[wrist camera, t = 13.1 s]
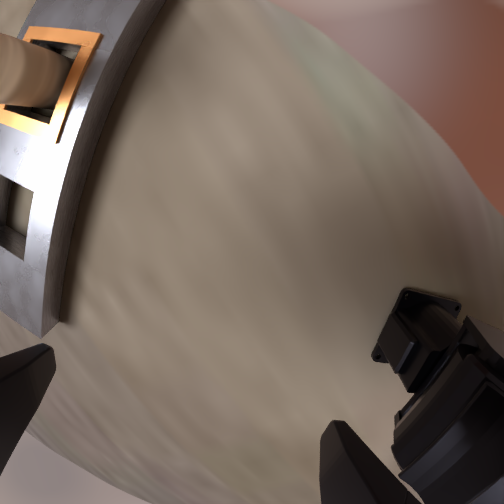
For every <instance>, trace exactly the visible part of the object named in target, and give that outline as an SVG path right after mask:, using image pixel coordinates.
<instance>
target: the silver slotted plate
mask: <svg viewBox="0 0 504 504" xmlns="http://www.w3.org/2000/svg"><path fill="white" fill-rule="evenodd" d="M165 1H166V0H36V2H35V4H34V6H33V7H32V9H31V11H30V13H29V15H28V17H27V18H26V20H25V22H24V24H23V26H22V28H21V30H20V32H19V34H18V36H17V38H18V39H21V40H24V41H26V42H29V43H32V44H35V45H37V46H40V47H43V48H45V49H48V50H51V51H53V52H54V51H55V49H62V50H68V51H74V52H78V54H77V56H76V59H75V61H74V63H73V65H72V67H71V70H70V72H69V74H68V77H67V79H66V81H65V84H64V86H63V89H62V91H61V94H60V96H59V99H58V102H57V104H56V107H55V110H54V113H53V116H52V118H49V117H46V116H43V115H40V114H37V113H34V112H31V108H32V107H27V106H17V105H6V104H0V310H1V311H2V312H3V313H5V314H6V315H7V316H9V317H10V318H12V319H13V320H14V321H16V322H17V323H18V324H20V325H21V326H23V327H24V328H26V329H27V330H29V331H30V332H32V333H33V334H35V335H36V336H38V337H39V338H42V337H43V336H44V335H46V334H47V333H48V332H49V331H50V330H51V329H52V328H53V327H54V326H55V325H56V324H57V323H58V322H59V313H60V304H61V295H62V288H63V281H64V274H65V268H66V262H67V256H68V251H69V246H70V241H71V236H72V231H73V227H74V222H75V218H76V214H77V210H78V206H79V202H80V198H81V194H82V191H83V187H84V184H85V180H86V177H87V173H88V170H89V167H90V164H91V161H92V157H93V154H94V151H95V148H96V146H97V143H98V140H99V137H100V134H101V132H102V129H103V126H104V123H105V121H106V118H107V116H108V113H109V111H110V108H111V106H112V103H113V101H114V99H115V96H116V94H117V92H118V89H119V87H120V85H121V83H122V80H123V78H124V76H125V74H126V72H127V70H128V68H129V66H130V64H131V62H132V60H133V58H134V56H135V54H136V52H137V50H138V48H139V46H140V44H141V42H142V40H143V38H144V37H145V35H146V33H147V31H148V29H149V28H150V26H151V24H152V22H153V21H154V19H155V17H156V16H157V14H158V12H159V11H160V9H161V8H162V6H163V4H164V3H165ZM12 181H14V182H16V183H18V184H20V185H22V186H24V187H26V188H28V189H30V190H32V191H34V196H33V201H32V206H31V212H30V218H29V224H28V231H27V238H26V237H24V236H23V235H21V234H19V233H18V232H16V231H15V230H13V229H11V228H10V227H8V226H7V225H6V217H7V210H8V203H9V197H10V191H11V186H12Z"/></svg>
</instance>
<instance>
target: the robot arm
mask: <svg viewBox="0 0 504 504" xmlns="http://www.w3.org/2000/svg"><path fill="white" fill-rule="evenodd" d="M407 293H408V296H407V297H405V295H406V294H407ZM456 306H457V307H456ZM455 307H456V308H455ZM460 310H461V303H459V302H458V301H456V300H452V299H448V298H444V297H440V296H436V295H433V294H429V293H425V292H421V291H417V290H413V289H409V288H405V289H403V290H402V291H401V293H400V295H399V297H398V299H397V302H396V304H395V306H394V308H393V311H392V313H391V314H390V315H389V317H388V319H387V322H386V324H385V326H384V328H383V330H382V332H381V334H380V336H379V338H378V340H377V341H378V342H377V344H376V346H375V348H374V350H373V352H372V354H371V357H372V359H373V361H375V362H382V363H389V364H390V365H391V367H392V369H393V371H394V373H395V374H398V375H399V377H400V379H401V381H402V383H403V385H404V386H405V388H406V390H407V392H408V393H414V395H413V396H412V398H411V399H410V400H409V401H408V403H407V404H406V405H405V406H404V407H403V408H402V410H399V411H398V412H397V414H396V415H395V416H394V419H395V429H394V444H393V445H392V446H391V450H392V453H393V456H394V458H395V460H396V462H397V464H398V466H399V467H400V469H401V470H402V472H400V473H399V474H398V476H399V478H400V479H402V480H403V481H405V482H406V483H407V484H409V485H410V486H411V487H412V488H413V489H414V490H415V491H416V492H417V493H418V494H419V496H420V497H421V498H422V500H423V502H424V503H425V504H504V332H502V331H501V330H499V329H497V328H495V327H493V326H490V325H488V324H486V323H484V322H482V321H479V320H477V319H475V318H473V317H471V316H468V315H467V316H466V318H465V319H464V321H463V325H462V324H461V323H460V322H459V321H457V320H456V318H457V316H458V314H459V312H460ZM378 354H379V356H377V355H378ZM55 371H56V362H55V355H54V350H53V348H52V347H51V346H48V345H46V344H44V343H40V344H37V345H35V346H32V347H29V348H26V349H23V350H20V351H18V352H15V353H12V354H9V355H6V356H3V357H0V475H1V473H2V471H3V469H4V467H5V466H6V464H7V462H8V460H9V458H10V456H11V454H12V452H13V451H14V449H15V447H16V445H17V443H18V441H19V440H20V438H21V436H22V434H23V433H24V431H25V429H26V427H27V426H28V424H29V422H30V421H31V419H32V417H33V416H34V414H35V412H36V411H37V409H38V407H39V405H40V403H41V401H42V399H43V397H44V395H45V392H46V390H47V388H48V386H49V384H50V382H51V380H52V378H53V376H54V374H55ZM319 481H320V493H321V504H421V503H420V502H419V501H418V500H417V499H416V498H415V497H414V496H413V495H412V494H411V493H410V491H407V488H406V487H405V486H404V485H403V484H402V483H401V482H400V481H399V480H398V479H397V478H396V477H395V476H394V475H393V474H392V473H391V471H390V470H389V469H388V468H387V467H386V466H385V465H384V464H383V463H382V462H381V461H380V460H379V458H378V457H377V456H376V455H375V454H374V453H373V452H372V451H371V450H370V449H369V447H368V446H367V445H366V444H365V443H364V442H363V441H362V440H361V439H360V437H359V436H358V435H357V434H356V433H355V432H354V431H353V430H352V429H351V427H350V426H349V425H348V424H347V423H346V422H345V421H341V420H332V421H331V422H330V423H329V425H328V427H327V428H326V430H325V431H324V433H323V434H322V436H321V440H320V473H319Z"/></svg>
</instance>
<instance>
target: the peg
mask: <svg viewBox="0 0 504 504" xmlns="http://www.w3.org/2000/svg"><path fill="white" fill-rule="evenodd" d="M74 61H75V60H73V59H70V58H68V57H66V56H63V55H61V54H58V53H56V52H53V51H51V50H48V49H45V48H43V47H40V46H37V45H35V44H32V43H29V42H26V41H24V40H21V39H18V38H15V37H12V36H9V35H6V34H3V33H0V104H6V105H17V106H27V107H36V108H44V109H51V110H55V107H56V104H57V102H58V99H59V96H60V94H61V91H62V89H63V86H64V84H65V81H66V79H67V77H68V74H69V72H70V70H71V67H72V65H73V63H74Z"/></svg>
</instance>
